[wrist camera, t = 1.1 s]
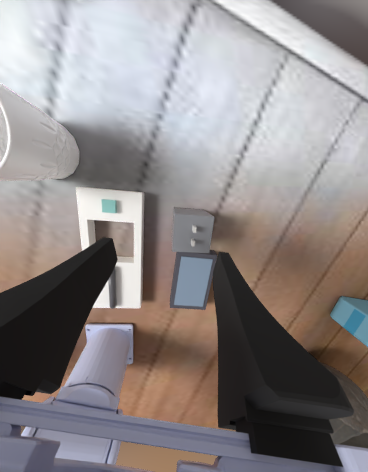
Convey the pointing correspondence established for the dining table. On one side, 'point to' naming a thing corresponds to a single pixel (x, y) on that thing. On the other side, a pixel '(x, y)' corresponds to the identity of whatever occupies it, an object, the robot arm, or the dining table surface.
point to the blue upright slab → (352, 317)
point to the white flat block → (127, 268)
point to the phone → (192, 279)
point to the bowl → (356, 426)
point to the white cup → (32, 142)
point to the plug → (191, 230)
